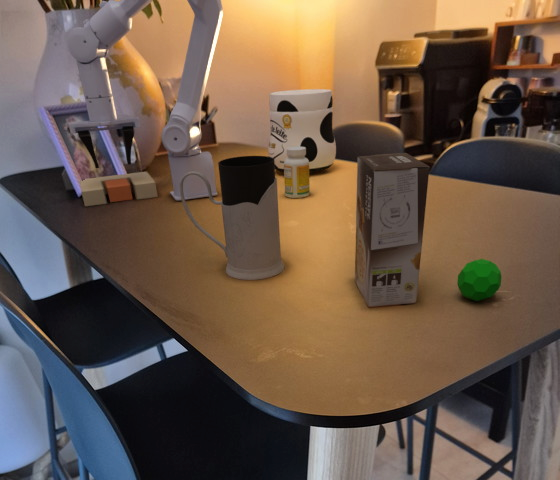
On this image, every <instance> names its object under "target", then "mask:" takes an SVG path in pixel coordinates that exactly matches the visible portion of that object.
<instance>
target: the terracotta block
mask: <svg viewBox="0 0 560 480" xmlns="http://www.w3.org/2000/svg"><path fill="white" fill-rule="evenodd" d="M105 185H106V190H107V194H106V195H107V196H108V199H109V202H110V203H117V202H123V201H124V202H125V201H131V200H133V199H134V198H133V192H132V191H131V188H130V184H129V182H128V181H127V179H126V178H124V179H116V180H108V181H105Z"/></svg>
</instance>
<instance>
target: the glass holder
mask: <svg viewBox="0 0 560 480" xmlns="http://www.w3.org/2000/svg"><path fill="white" fill-rule="evenodd" d="M217 164H218V172H219V173H218V174H219V184H220V192H221V201H219V200H215V198H214V196H212V191H211V186H210V183H209V181H208V179H207V178H206V177H205V176H204V175H203V174H201V173H199V172H189V173H187V174H185V175H184V176H183V177H182V179H181V182H180V194H181V199H182V200H181V204H182V206H183V208H184V211H185V213H186V215H187V216H188V218H189V220H190V221H191V222H192V224H193V225H194V227H195V228H196V229H197V230H198V231H200V232H201V233H202V234H203V235H204V236H206V237H207V238H208V239H209V240H211V241H212V242H213V243H214V244H216V245H217V246H219V248H221V249H222V250H223V251H224V254H225V258H226V259H227V263H226V264H227V265H226V267H225V273H226V275H228V276H229V277H231V278H232V279H233V278H234V279H236V280H237V279H238V280H244V281H256V280H264V279H268V278H269V279H270V278H273V277H275V276H277V275H279V274H281V273H282V272H284V270H285V264H284V262H283V260H282V253H281V251H282V250H281V233H280V232H281V231H280V213H279V195H278V179H277V177H276V169H275V161H274V158H272V157H269V155H268V156H266V155H241V156H235V157H228V158H225V159H222V160H219V161H218V162H217ZM189 175H198V176H199V177H201V178H202V179H203V180H204V182H205V183H206V185H207V189H208V193H209V197H208V198H209V200H210V202H211V203H212V204H214V205H219V206H221V213H222V222H223V231H224V232H223V233H224V240H225V245H224V243H222V242H221V241H220V240H218V239H217V238H215V236H213V235H212V234H210V233H209V232H208V231H206V229H204V228H203V227H202V226H201V225H200V223H198V221H197V220H196V219H195V218H194V216H193V214H192V212H191V211H190V209H189V206H188V203H187V202H186V200H185V197H184V192H183V182H184V179H185V178H186V177H187V176H189Z"/></svg>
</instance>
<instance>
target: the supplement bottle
mask: <svg viewBox="0 0 560 480" xmlns="http://www.w3.org/2000/svg"><path fill="white" fill-rule="evenodd" d="M305 155H306V148H305V147H300V146H297V147H289V148H287V156H288V158H287V159H286V160H285V161H284V172H283V180H284V196H285V197H287V198H289V199H301V198H306V197H308V196H309V195H310V173H309V160H308V159H307V158H305Z"/></svg>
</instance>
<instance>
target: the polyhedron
mask: <svg viewBox="0 0 560 480" xmlns="http://www.w3.org/2000/svg"><path fill="white" fill-rule="evenodd" d="M456 282H457V283H456V284H457V287H458V290H459V292H460V293H461V295H462V296H463V297H465V298H466V299H469V300H470V301H474V302H480V301H483V300H486V299H489V298H493V296H494V295H495V294H496V293H497V292H498V290H499V289H500V288H501V285H502V272H501V270H500V268H499V266H497V264H496V263H494V262H492V261H491V260H488V259H484V258H479V259H475V260H472V261H469V262H467V263H466V264H465V265H464V267H463V268H462V270H460V272H459V273H458V275H457V281H456Z"/></svg>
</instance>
